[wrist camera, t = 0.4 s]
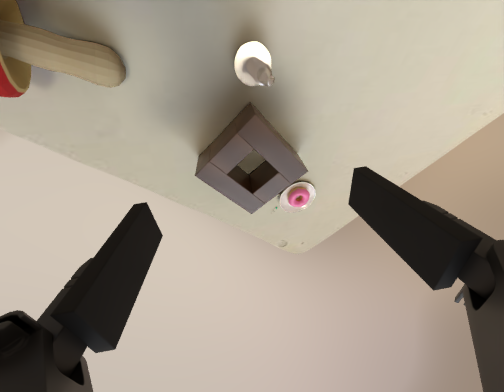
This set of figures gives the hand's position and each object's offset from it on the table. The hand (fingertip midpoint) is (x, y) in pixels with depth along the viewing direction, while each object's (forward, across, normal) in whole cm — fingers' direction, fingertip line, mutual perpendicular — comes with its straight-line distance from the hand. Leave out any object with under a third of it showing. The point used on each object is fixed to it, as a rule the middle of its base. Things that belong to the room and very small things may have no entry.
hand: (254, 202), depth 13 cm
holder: (+24, +1, -5) cm, 25 cm away
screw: (+22, +3, +9) cm, 24 cm away
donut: (+26, +10, -18) cm, 33 cm away
